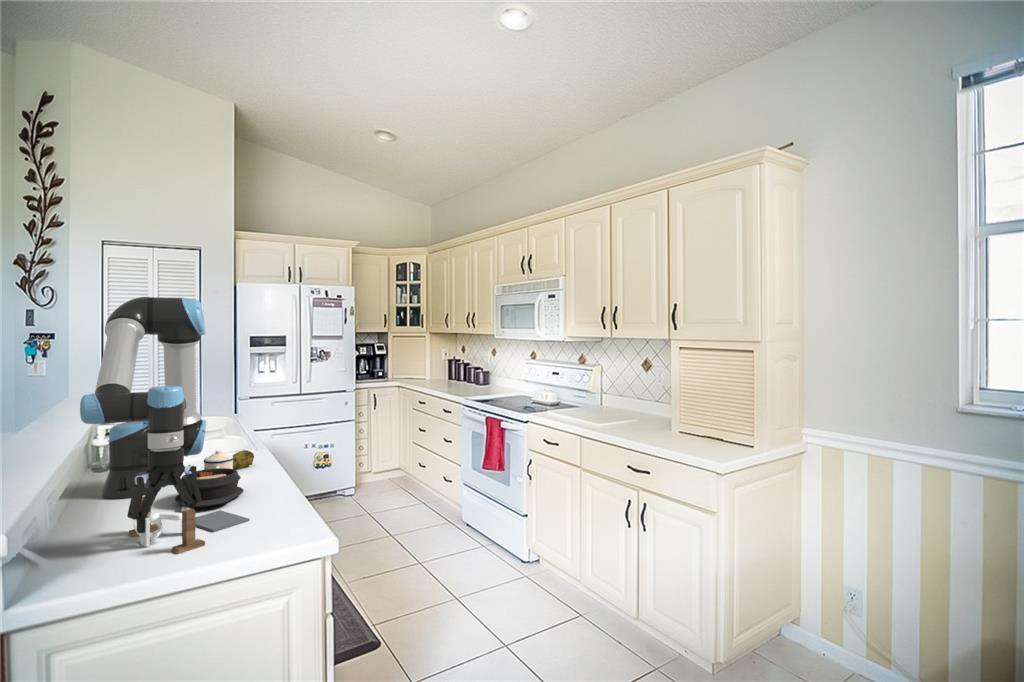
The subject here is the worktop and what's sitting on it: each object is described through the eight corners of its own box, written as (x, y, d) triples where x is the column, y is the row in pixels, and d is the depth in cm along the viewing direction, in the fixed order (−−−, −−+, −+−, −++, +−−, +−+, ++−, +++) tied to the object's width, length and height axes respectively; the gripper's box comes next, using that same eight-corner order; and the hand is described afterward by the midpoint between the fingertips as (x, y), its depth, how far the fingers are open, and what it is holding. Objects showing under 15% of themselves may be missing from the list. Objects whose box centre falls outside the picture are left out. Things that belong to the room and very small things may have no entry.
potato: (216, 472, 199) (215, 451, 199) (254, 468, 205) (253, 447, 205) (214, 477, 192) (214, 455, 192) (254, 473, 198) (254, 452, 198)
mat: (184, 522, 144) (184, 520, 144) (220, 512, 153) (220, 510, 153) (213, 532, 137) (213, 529, 137) (249, 520, 146) (249, 518, 146)
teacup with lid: (205, 482, 185) (204, 449, 185) (234, 479, 189) (234, 446, 189) (201, 491, 174) (201, 455, 174) (232, 488, 178) (232, 453, 178)
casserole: (181, 493, 172) (181, 467, 172) (245, 487, 180) (245, 462, 180) (167, 517, 149) (167, 487, 149) (241, 508, 157) (241, 480, 157)
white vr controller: (166, 548, 127) (166, 519, 127) (125, 544, 129) (125, 515, 129) (191, 536, 134) (191, 509, 134) (152, 533, 137) (151, 506, 136)
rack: (128, 534, 136) (128, 499, 136) (154, 527, 141) (154, 493, 141) (179, 553, 123) (178, 515, 123) (205, 545, 129) (204, 508, 129)
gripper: (124, 458, 121) (124, 557, 121) (217, 442, 139) (217, 528, 139) (108, 454, 125) (109, 550, 125) (201, 439, 143) (201, 523, 143)
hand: (166, 538), depth 132 cm, fingers open, 9 cm apart
